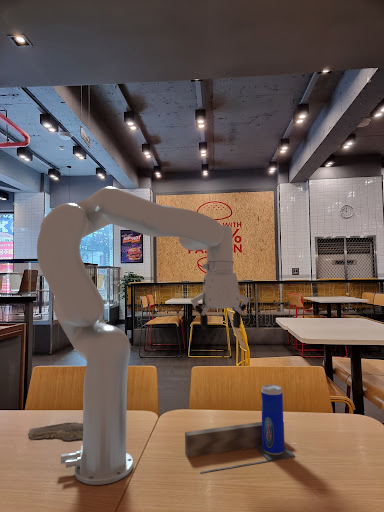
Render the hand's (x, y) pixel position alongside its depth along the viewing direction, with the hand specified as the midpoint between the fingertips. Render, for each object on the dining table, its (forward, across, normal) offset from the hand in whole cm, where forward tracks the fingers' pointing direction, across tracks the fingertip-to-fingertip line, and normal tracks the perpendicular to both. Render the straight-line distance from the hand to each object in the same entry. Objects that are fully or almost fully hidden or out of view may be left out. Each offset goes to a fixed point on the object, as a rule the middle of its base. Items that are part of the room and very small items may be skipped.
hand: (220, 328), depth 95 cm
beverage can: (+28, +8, -14) cm, 33 cm away
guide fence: (+28, 0, -14) cm, 32 cm away
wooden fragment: (+29, -40, +12) cm, 51 cm away
